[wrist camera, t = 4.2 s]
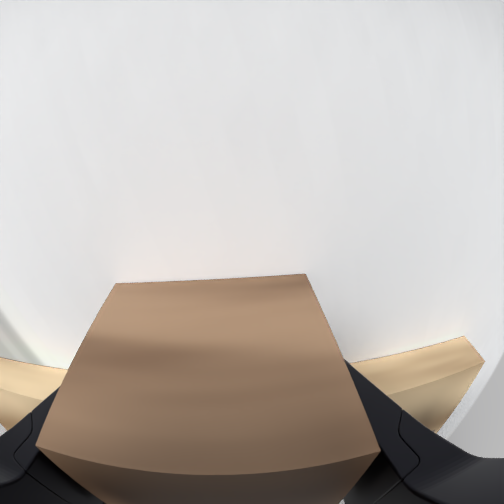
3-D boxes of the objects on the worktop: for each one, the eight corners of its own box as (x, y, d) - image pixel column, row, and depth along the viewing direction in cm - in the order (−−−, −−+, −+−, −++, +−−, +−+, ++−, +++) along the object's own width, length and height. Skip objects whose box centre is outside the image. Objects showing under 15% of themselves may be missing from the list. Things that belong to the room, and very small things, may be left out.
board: (420, 416, 14) (431, 439, 12) (31, 425, 13) (22, 447, 11) (464, 336, 11) (485, 361, 9) (-22, 352, 10) (-38, 374, 8)
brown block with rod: (287, 444, 14) (303, 538, 8) (180, 449, 13) (174, 542, 8) (305, 273, 9) (380, 450, 4) (115, 283, 9) (35, 444, 3)
